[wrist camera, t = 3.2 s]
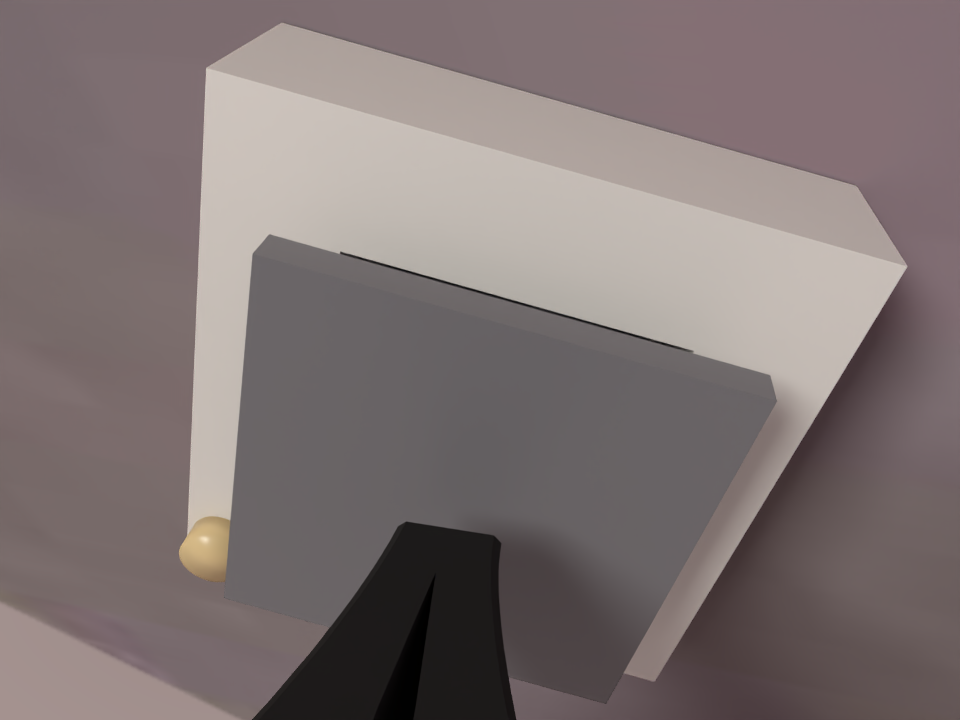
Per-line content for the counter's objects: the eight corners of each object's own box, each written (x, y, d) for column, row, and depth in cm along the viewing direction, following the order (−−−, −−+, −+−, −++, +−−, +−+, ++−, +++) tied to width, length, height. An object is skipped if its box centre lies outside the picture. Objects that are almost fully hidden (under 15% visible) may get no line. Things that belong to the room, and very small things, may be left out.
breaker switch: (743, 273, 14) (777, 401, 11) (608, 553, 17) (606, 704, 15) (334, 157, 13) (252, 253, 10) (292, 465, 17) (223, 598, 14)
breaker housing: (856, 186, 14) (920, 286, 11) (650, 572, 19) (655, 708, 16) (281, 23, 14) (187, 79, 11) (242, 458, 19) (173, 574, 16)
